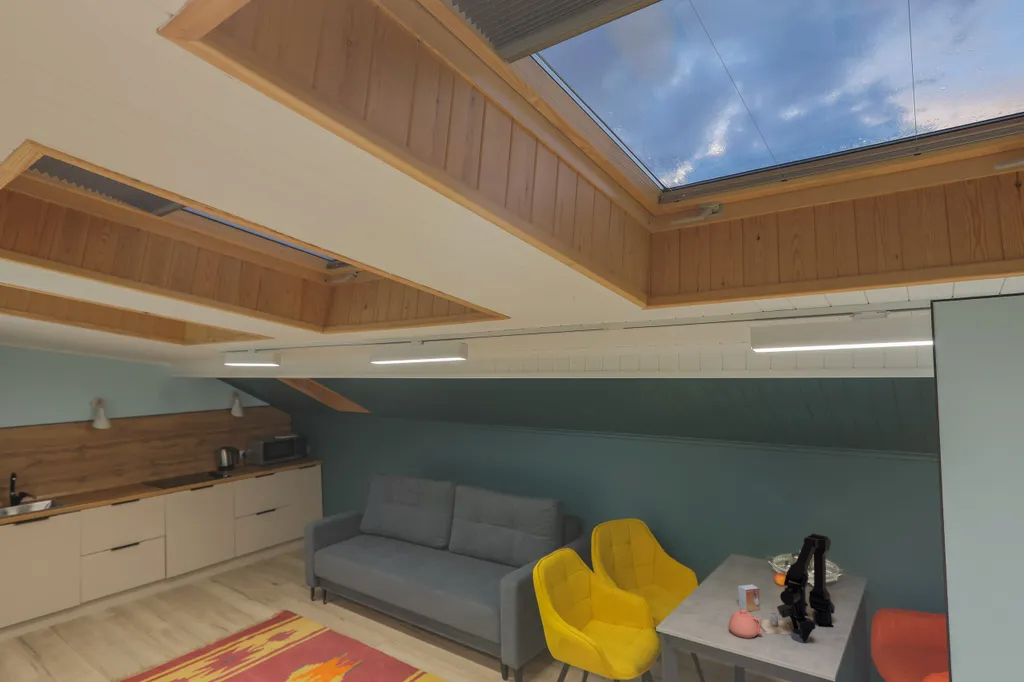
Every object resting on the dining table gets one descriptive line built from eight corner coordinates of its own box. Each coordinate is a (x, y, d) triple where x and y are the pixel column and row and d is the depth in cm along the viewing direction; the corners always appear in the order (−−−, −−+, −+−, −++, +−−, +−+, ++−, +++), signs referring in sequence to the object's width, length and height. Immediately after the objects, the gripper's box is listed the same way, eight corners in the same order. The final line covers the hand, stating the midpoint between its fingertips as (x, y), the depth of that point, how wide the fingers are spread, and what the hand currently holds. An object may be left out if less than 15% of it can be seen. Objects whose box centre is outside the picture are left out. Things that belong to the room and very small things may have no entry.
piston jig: (783, 622, 253) (783, 608, 254) (794, 634, 241) (793, 620, 242) (756, 621, 254) (756, 608, 255) (765, 633, 243) (764, 619, 243)
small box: (746, 612, 264) (745, 589, 265) (738, 607, 270) (737, 585, 271) (760, 610, 267) (759, 587, 267) (752, 605, 272) (751, 583, 273)
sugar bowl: (734, 625, 251) (733, 602, 252) (766, 634, 242) (765, 610, 243) (725, 635, 242) (724, 611, 242) (758, 644, 233) (757, 619, 233)
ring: (805, 635, 240) (804, 628, 240) (811, 642, 234) (810, 635, 234) (789, 635, 241) (789, 628, 241) (795, 642, 234) (795, 634, 235)
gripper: (771, 590, 248) (772, 626, 247) (787, 607, 230) (788, 646, 229) (797, 591, 247) (799, 627, 246) (815, 608, 229) (817, 647, 228)
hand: (800, 636), depth 237 cm, fingers open, 9 cm apart
